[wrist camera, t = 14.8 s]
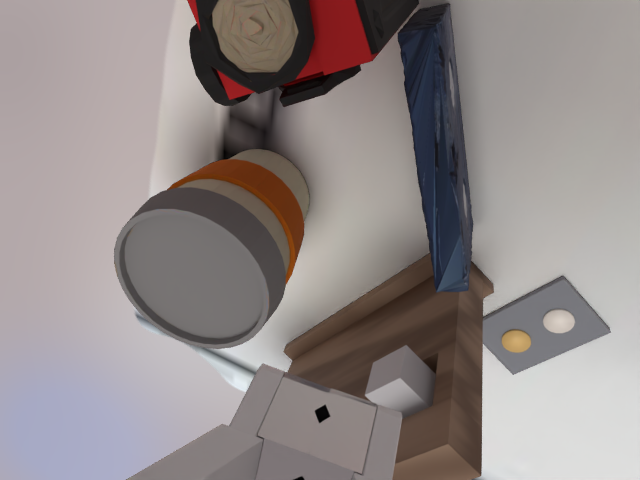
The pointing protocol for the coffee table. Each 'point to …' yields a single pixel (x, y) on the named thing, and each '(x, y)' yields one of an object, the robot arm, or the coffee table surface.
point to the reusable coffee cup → (216, 249)
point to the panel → (430, 346)
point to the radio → (287, 44)
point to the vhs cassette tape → (439, 143)
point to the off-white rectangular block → (401, 382)
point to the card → (541, 326)
